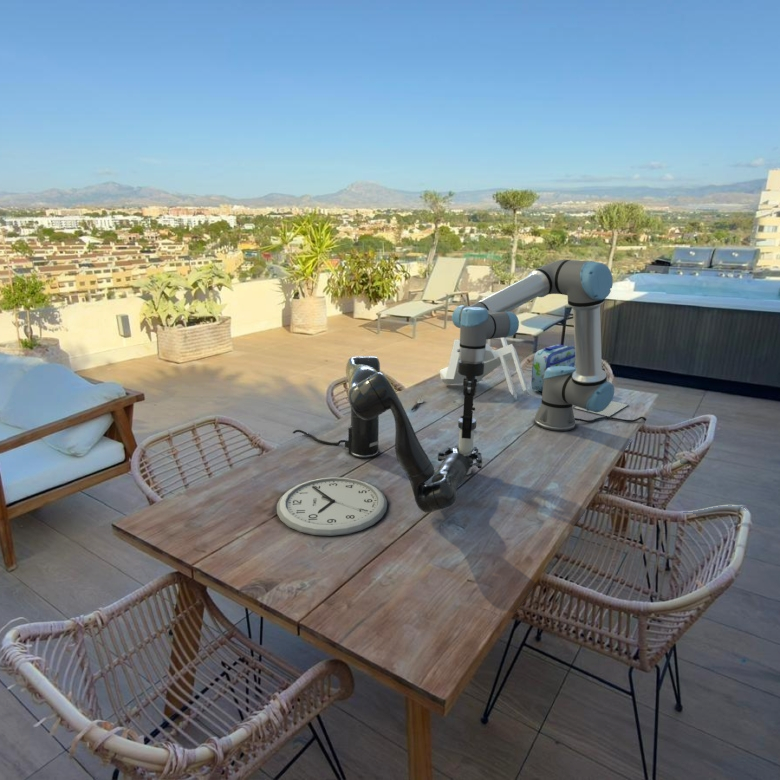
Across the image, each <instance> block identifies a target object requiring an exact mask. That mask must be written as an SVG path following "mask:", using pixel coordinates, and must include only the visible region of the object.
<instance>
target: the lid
mask: <svg viewBox="0 0 780 780" xmlns="http://www.w3.org/2000/svg"><path fill="white" fill-rule="evenodd" d="M462 423H463V418H461V417H460V418H458V424H457V427H458V429H459V430H460V429H462ZM475 429H477V420H476V419H475V418H473V417H472V426H471V430H474V431H475Z"/></svg>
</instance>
